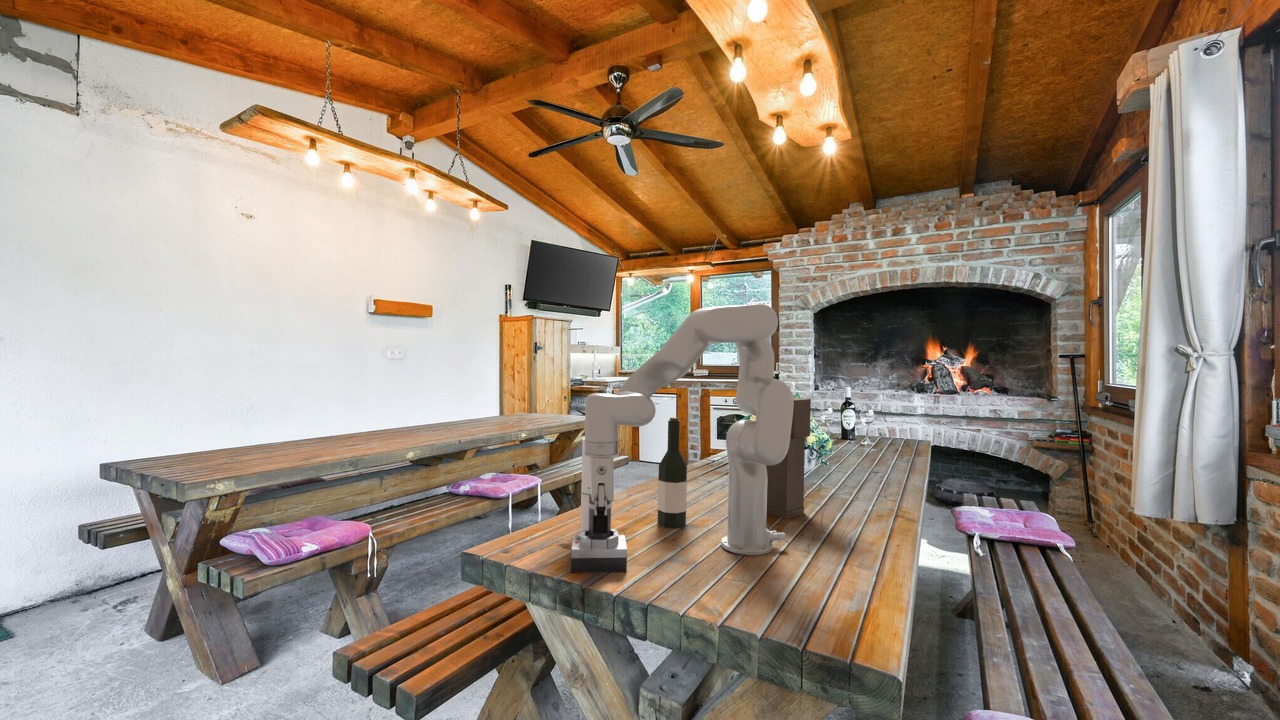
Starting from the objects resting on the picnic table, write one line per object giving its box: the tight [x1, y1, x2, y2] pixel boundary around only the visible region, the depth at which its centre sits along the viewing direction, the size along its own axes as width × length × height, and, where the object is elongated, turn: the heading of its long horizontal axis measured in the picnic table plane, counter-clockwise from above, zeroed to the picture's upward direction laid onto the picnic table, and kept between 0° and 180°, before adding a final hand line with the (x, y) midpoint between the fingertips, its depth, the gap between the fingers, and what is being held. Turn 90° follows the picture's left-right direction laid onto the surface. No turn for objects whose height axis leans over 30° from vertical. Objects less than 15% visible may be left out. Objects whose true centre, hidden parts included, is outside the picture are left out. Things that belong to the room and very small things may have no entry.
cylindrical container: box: [580, 437, 591, 532], centre depth 141 cm, size 7×7×25 cm
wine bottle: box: [657, 416, 688, 529], centre depth 150 cm, size 8×8×30 cm
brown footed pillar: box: [766, 397, 812, 520], centre depth 168 cm, size 19×14×35 cm
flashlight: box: [588, 493, 613, 538], centre depth 119 cm, size 5×5×10 cm
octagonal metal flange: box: [570, 528, 628, 573], centre depth 119 cm, size 12×9×7 cm
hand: (599, 528), depth 119 cm, fingers closed on flashlight, 5 cm apart
